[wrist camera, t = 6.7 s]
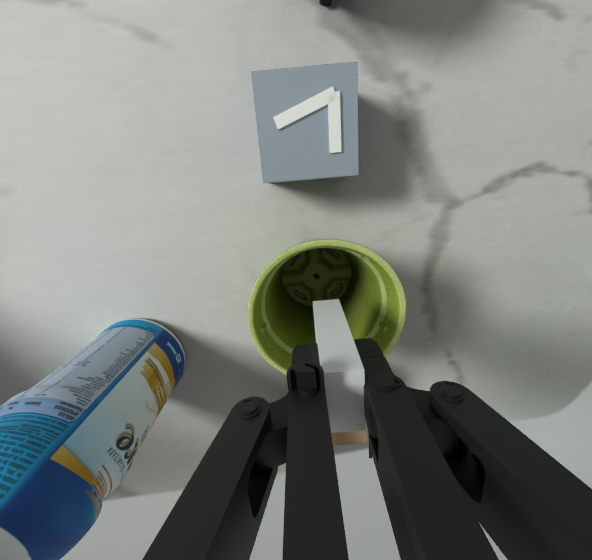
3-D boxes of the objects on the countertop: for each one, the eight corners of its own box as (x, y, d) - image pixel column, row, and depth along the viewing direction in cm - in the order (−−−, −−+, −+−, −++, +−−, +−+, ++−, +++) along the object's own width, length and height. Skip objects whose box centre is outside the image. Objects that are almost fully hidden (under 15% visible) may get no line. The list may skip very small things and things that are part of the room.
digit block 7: (270, 183, 23) (262, 183, 18) (261, 96, 21) (250, 70, 16) (345, 176, 23) (359, 175, 18) (343, 89, 21) (358, 60, 16)
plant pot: (393, 261, 25) (440, 300, 17) (327, 340, 27) (340, 408, 19) (304, 197, 23) (308, 204, 15) (243, 287, 26) (217, 336, 17)
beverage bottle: (131, 296, 26) (-323, 604, 7) (206, 351, 28) (9, 717, 9) (84, 356, 28) (-368, 721, 9) (157, 404, 30) (-90, 794, 11)
